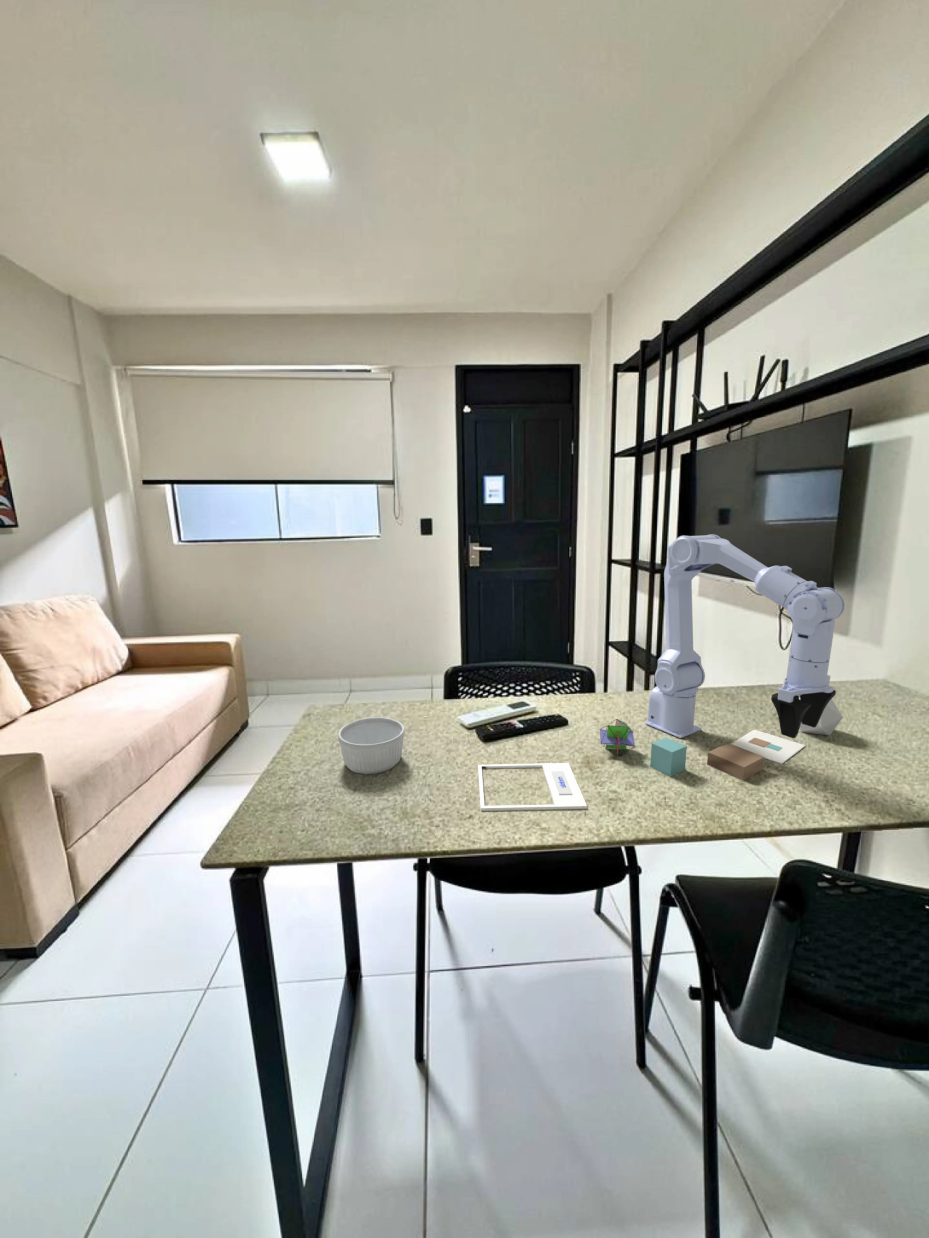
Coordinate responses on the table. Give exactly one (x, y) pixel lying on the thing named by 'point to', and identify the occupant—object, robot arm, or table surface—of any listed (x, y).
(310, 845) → the table surface
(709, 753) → the brown block
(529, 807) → the photo frame
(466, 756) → the table surface
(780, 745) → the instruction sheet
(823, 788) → the table surface
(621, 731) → the geometric puzzle
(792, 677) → the robot arm
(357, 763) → the ramekin
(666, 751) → the teal brick
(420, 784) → the table surface
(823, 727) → the die
